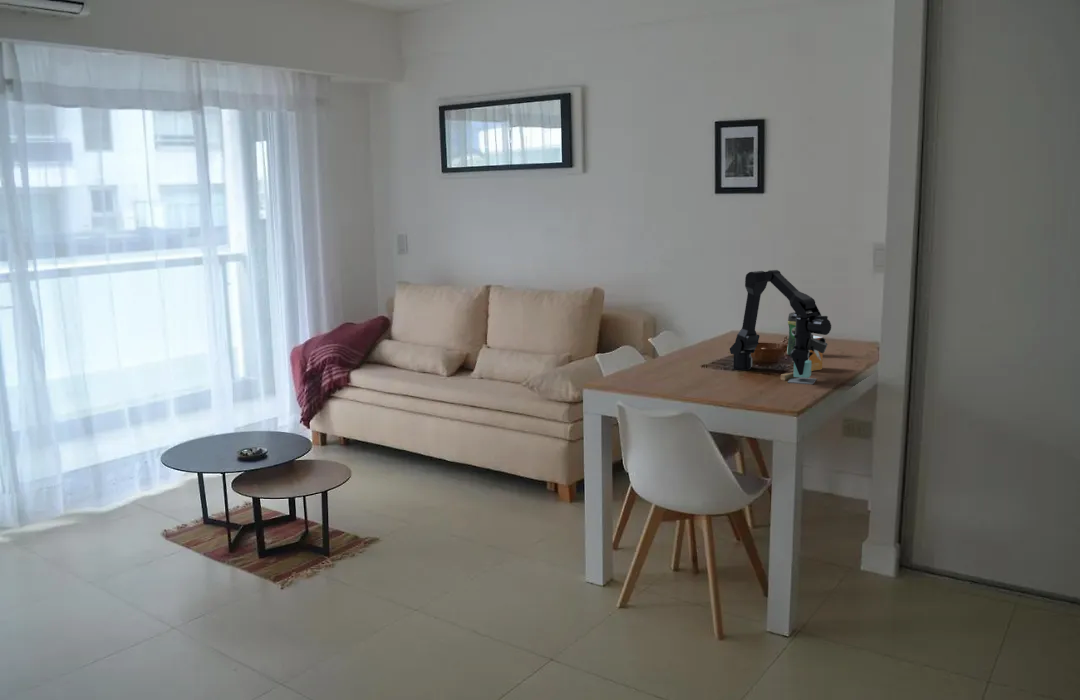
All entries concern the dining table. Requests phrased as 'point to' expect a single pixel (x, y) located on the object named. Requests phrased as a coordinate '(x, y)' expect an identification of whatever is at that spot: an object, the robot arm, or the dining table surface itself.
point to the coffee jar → (791, 333)
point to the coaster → (802, 380)
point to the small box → (816, 358)
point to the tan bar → (787, 376)
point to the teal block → (805, 372)
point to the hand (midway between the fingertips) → (802, 373)
